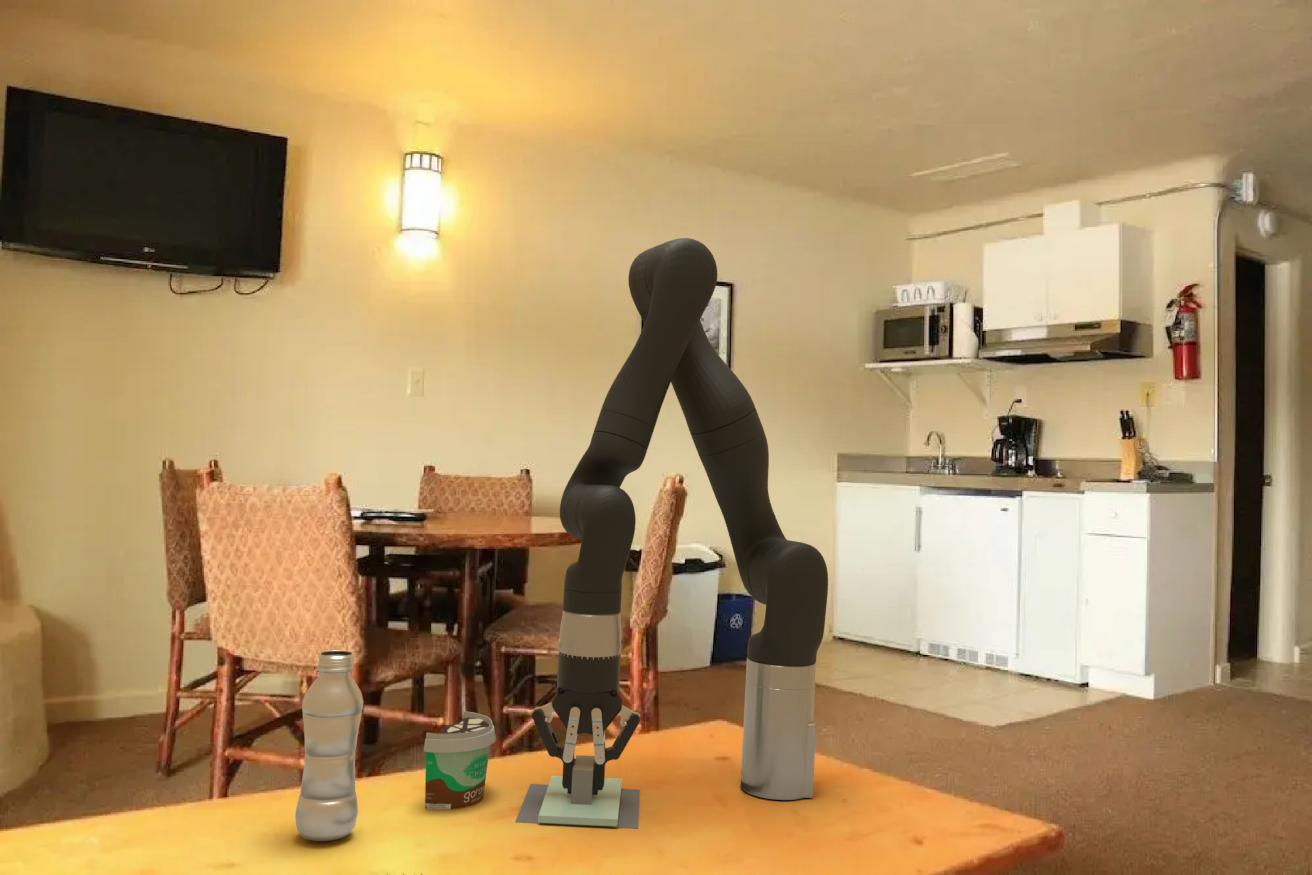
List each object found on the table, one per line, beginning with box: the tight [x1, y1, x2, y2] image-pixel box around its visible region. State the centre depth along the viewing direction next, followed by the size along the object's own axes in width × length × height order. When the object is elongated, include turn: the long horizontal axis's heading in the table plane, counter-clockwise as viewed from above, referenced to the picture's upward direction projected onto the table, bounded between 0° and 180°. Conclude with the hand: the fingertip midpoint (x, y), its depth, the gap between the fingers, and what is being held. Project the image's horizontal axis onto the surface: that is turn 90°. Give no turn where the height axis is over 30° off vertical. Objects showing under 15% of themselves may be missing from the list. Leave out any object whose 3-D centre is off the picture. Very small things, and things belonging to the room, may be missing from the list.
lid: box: [538, 754, 623, 827], centre depth 124 cm, size 9×15×5 cm, turn 0°
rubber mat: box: [515, 783, 641, 830], centre depth 123 cm, size 14×14×1 cm
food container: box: [423, 710, 497, 811], centre depth 124 cm, size 12×6×10 cm, turn 168°
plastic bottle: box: [294, 649, 364, 842], centre depth 112 cm, size 6×7×20 cm
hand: (582, 791), depth 124 cm, fingers closed on lid, 2 cm apart
